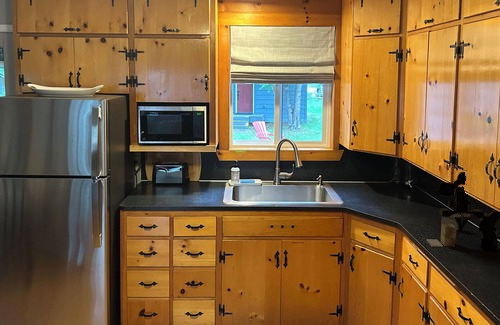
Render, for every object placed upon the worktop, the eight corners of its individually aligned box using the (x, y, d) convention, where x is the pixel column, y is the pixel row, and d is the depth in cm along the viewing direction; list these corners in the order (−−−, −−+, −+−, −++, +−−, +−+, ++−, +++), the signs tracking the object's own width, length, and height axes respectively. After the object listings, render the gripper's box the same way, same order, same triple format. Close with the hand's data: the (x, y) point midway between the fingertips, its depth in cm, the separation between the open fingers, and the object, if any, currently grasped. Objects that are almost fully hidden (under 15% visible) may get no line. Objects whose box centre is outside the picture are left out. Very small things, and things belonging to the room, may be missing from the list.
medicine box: (440, 227, 291) (441, 211, 289) (444, 226, 294) (446, 210, 292) (455, 231, 285) (456, 214, 284) (459, 229, 288) (460, 212, 287)
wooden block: (451, 242, 266) (452, 224, 265) (455, 246, 260) (456, 227, 259) (440, 242, 266) (441, 223, 265) (443, 246, 261) (445, 227, 259)
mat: (437, 240, 268) (437, 239, 268) (443, 247, 259) (443, 246, 259) (426, 240, 269) (426, 239, 269) (431, 246, 259) (432, 245, 259)
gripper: (477, 194, 267) (474, 226, 270) (437, 193, 268) (434, 225, 270) (485, 200, 256) (482, 233, 259) (443, 199, 257) (441, 232, 260)
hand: (459, 230), depth 262 cm, fingers closed
